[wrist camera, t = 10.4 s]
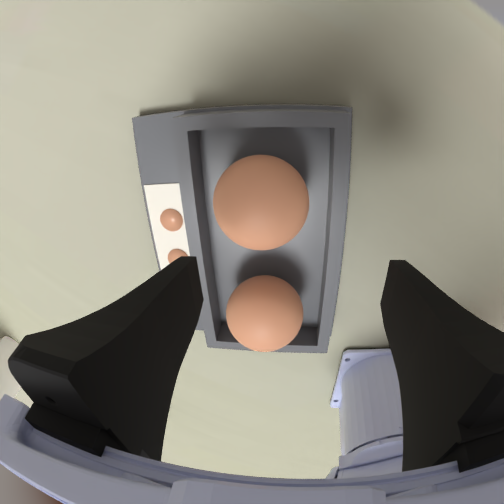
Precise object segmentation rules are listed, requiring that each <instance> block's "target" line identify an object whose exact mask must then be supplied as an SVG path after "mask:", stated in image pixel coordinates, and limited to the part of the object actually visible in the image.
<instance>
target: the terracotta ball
mask: <svg viewBox="0 0 504 504" xmlns="http://www.w3.org/2000/svg"><path fill="white" fill-rule="evenodd" d="M213 209H214V214H215V218H216V221H217V223H218V225H219V226H220V228H221V230H222V231H223V232H224V233H225V235H226V236H227V237H228V238H229V239H231V240H232V241H233V242H235V243H236V244H238V245H240V246H242V247H245V248H248V249H252V250H270V249H274V248H278V247H280V246H282V245H284V244H286V243H288V242H289V241H290V240H292V239H293V238H294V237H295V236H296V235H297V234H298V233H299V231H300V230H301V229H302V227H303V225H304V223H305V221H306V219H307V216H308V212H309V194H308V190H307V187H306V184H305V182H304V180H303V178H302V176H301V175H300V174H299V172H298V171H297V170H296V169H295V168H294V167H293V166H292V165H290V164H289V163H287V162H286V161H284V160H282V159H280V158H278V157H274V156H270V155H252V156H247V157H245V158H242V159H240V160H238V161H236V162H235V163H233V164H232V165H230V166H229V167H228V168H227V169H226V170H225V171H224V172H223V174H222V175H221V177H220V178H219V180H218V182H217V184H216V187H215V190H214V196H213Z"/></svg>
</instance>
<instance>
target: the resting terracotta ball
mask: <svg viewBox="0 0 504 504" xmlns="http://www.w3.org/2000/svg"><path fill="white" fill-rule="evenodd" d="M226 319H227V324H228V327H229V329H230V332H231V333H232V335H233V336H234V337H235V339H236V340H237V341H238V342H239V343H241V344H242V345H243V346H245V347H247V348H249V349H251V350H255V351H260V352H270V351H275V350H278V349H280V348H282V347H284V346H286V345H287V344H289V343H290V342H291V341H292V340H293V339H294V338H295V337H296V335H297V334H298V332H299V330H300V328H301V325H302V322H303V305H302V302H301V299H300V297H299V295H298V293H297V291H296V290H295V289H294V288H293V287H292V286H291V285H290V284H289V283H288V282H286V281H285V280H283V279H280V278H278V277H275V276H270V275H260V276H255V277H252V278H249V279H247V280H245V281H244V282H242V283H241V284H240V285H239V286H238V287H236V288H235V290H234V291H233V292H232V294H231V296H230V298H229V300H228V303H227V308H226Z"/></svg>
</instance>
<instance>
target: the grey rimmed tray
mask: <svg viewBox="0 0 504 504" xmlns="http://www.w3.org/2000/svg"><path fill="white" fill-rule="evenodd" d="M132 122H133V130H134V137H135V145H136V152H137V158H138V165H139V171H140V177H141V183H142V189H143V195H144V200H145V206H146V211H147V216H148V221H149V226H150V231H151V236H152V240H153V245H154V249H155V254H156V258H157V263H158V267H159V271H161V270H162V269H163V268H165V267H166V266H167V265H169V264H170V263H171V262H173V261H174V260H176V259H177V258H179V257H181V256H196V258H197V264H198V270H199V276H200V281H201V287H202V293H203V298H204V300H203V305H202V309H201V313H200V317H199V321H198V324H197V326H196V329H195V330H204V333H205V338H206V343H207V347H210V348H222V349H235V350H250V351H255V350H251V349H249V348H247V347H245V346H243V345H242V344H241V343H239V342H238V341H237V340H236V339H235V337H234V336H233V335H232V333H231V332H230V329H229V327H228V324H227V319H226V308H227V303H228V300H229V298H230V296H231V294H232V292H233V291H234V290H235V288H236V287H238V286H239V285H240V284H241V283H242V282H244V281H245V280H247V279H249V278H252V277H255V276H260V275H270V276H275V277H278V278H280V279H283V280H285V281H286V282H288V283H289V284H290V285H291V286H292V287H293V288H294V289H295V290H296V291H297V293H298V295H299V297H300V299H301V302H302V305H303V322H302V325H301V328H300V330H299V332H298V334H297V335H296V337H295V338H294V339H293V340H292V341H291V342H290V343H289V344H287V345H286V346H284V347H282V348H280V349H278V350H275V351H270V352H294V353H327V350H328V345H329V339H330V336H331V333H332V327H333V321H334V315H335V308H336V302H337V295H338V288H339V280H340V273H341V265H342V256H343V248H344V238H345V229H346V218H347V206H348V193H349V179H350V161H351V137H352V107H350V106H336V105H312V104H260V105H236V106H220V107H208V108H197V109H187V110H178V111H170V112H162V113H155V114H148V115H142V116H137V117H134V118H132ZM252 155H270V156H274V157H278V158H280V159H282V160H284V161H286V162H287V163H289V164H290V165H292V166H293V167H294V168H295V169H296V170H297V171H298V172H299V174H300V175H301V176H302V178H303V180H304V182H305V184H306V187H307V190H308V194H309V212H308V216H307V219H306V221H305V223H304V225H303V227H302V229H301V230H300V231H299V233H298V234H297V235H296V236H295V237H294V238H293V239H292V240H290V241H289V242H288V243H286V244H284V245H282V246H280V247H278V248H274V249H270V250H252V249H248V248H245V247H242V246H240V245H238V244H236V243H235V242H233V241H232V240H231V239H229V238H228V237H227V236H226V235H225V233H224V232H223V231H222V230H221V228H220V226H219V225H218V223H217V221H216V218H215V214H214V209H213V196H214V190H215V187H216V184H217V182H218V180H219V178H220V177H221V175H222V174H223V172H224V171H225V170H226V169H227V168H228V167H229V166H230V165H232V164H233V163H235V162H236V161H238V160H240V159H242V158H245V157H247V156H252Z"/></svg>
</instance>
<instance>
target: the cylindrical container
mask: <svg viewBox="0 0 504 504" xmlns="http://www.w3.org/2000/svg"><path fill="white" fill-rule="evenodd" d="M18 345H19V343H18V342H16V341H15V340H14V339H12V338H10V337H8V336H4V337H3V338H2V339H1V341H0V400H1V399H2V397H3V395H4V394H7V395H9V396H11V397H13V398H15V397H16V395H17V394H18V392H19V390H20V389H21V386H20V385H19V384H18V382H17V381H16V380H15V378H14V377H13V375H12V374H11V372H10V370H9V367H8V359H9V357H10V356H11V354H12V353H13V352H14V350H15V349H16V348H17V346H18Z"/></svg>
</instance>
